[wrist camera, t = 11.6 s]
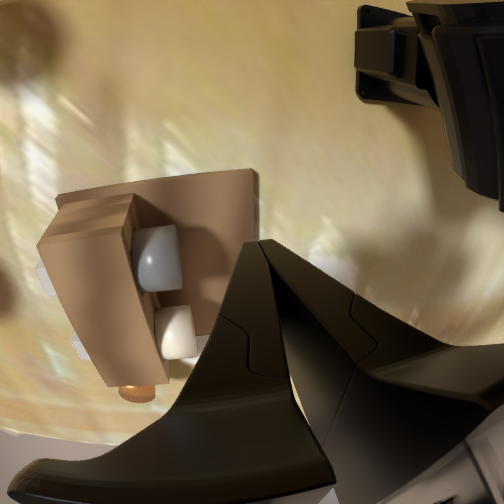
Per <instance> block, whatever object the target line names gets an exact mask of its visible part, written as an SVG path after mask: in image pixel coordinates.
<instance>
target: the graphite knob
mask: <svg viewBox="0 0 504 504" xmlns="http://www.w3.org/2000/svg"><path fill="white" fill-rule="evenodd" d="M130 255H131V259H132V264H133V271H134V275H135V280H136V283H137V286H138V288H139V290H140V292H141V293H149V292H158V291H167V290H176V289H182V288H183V273H182V261H181V253H180V245H179V239H178V233H177V229H176V226H175V225H167V226H159V227H151V228H143V229H136V230H134V231H133V234H132V242H131V249H130ZM34 270H35V272H36V274H37V276H38V278H39V281H40V283H41V285H42V287H43V289H44V291H45V293H46V296H47V297H49V296H57V294H56V292H55V289H54V287H53V285H52V283H51V281H50V278H49V276H48V274H47V271H46V269H45V267H44V264H43V262H42V259H41V258H40V259H39V261H38V263H37V265H36V267H35V269H34Z"/></svg>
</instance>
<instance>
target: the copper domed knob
mask: <svg viewBox="0 0 504 504" xmlns="http://www.w3.org/2000/svg"><path fill="white" fill-rule="evenodd" d="M119 394H120V396H121V397H122V398H124V399H125V400H128V401H130V402H135V403H146V402H150V401H152V400H153V399H154V398H155V385H142V386H122V387H119Z"/></svg>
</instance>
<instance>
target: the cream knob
mask: <svg viewBox="0 0 504 504" xmlns="http://www.w3.org/2000/svg"><path fill="white" fill-rule="evenodd" d="M154 335H155V338H156V341H157V346H158V350H159V353H160V356H161V358H162V360H171V359H181V358H191V357H197V347H196V337H195V329H194V323H193V317H192V311H191V307H190V305H182V306H173V307H164V308H156V310H155V321H154ZM71 343H72V345H73V346H74V348H75V350H76V351H77V353H78V355H79V356H80V358H81V360H91V359H90V357H89V355H88V354H87V352H86V350H85V348H84V347H83V345H82V343H81V341H80V339H79V337H78V336H77V334H76V332H75V330H74V331H73V335H72V339H71Z"/></svg>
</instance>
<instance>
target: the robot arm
mask: <svg viewBox="0 0 504 504" xmlns="http://www.w3.org/2000/svg"><path fill="white" fill-rule="evenodd" d="M406 5H407V7H408V9H409V12H412V14H413V16H409V15H406V14H402V13H398V12H395V11H391V10H387V9H383V8H379V7H374V6H370V5H362V6H359V8H358V10H357V31H356V32H355V60H354V67H355V68H356V89H355V91H356V94H357V96H358V97H360V98H363V99H371V100H381V101H390V102H399V103H407V104H414V105H421V106H426V107H429V108H432V109H435V110H437V111H440V112H441V115H442V120H443V124H444V129H445V134H446V139H447V144H448V149H449V155H450V160H451V163H452V166H453V169H454V170H455V171H456V172H457V173H458V175H459V176H460V177H461V178H462V179H463V180H464V181H465V185H466V187H467V188H468V189H470V190H472V191H474V192H475V193H477V194H479V195H481V196H484V197H487V198H490V199H492V200H497V201H499V210H500V211H501V212H504V0H413V1H408V2H406ZM364 9H366V10H367V12H368V14H367V15H365V13H364ZM363 88H365V90H366V91H365V93H364V94H362V89H363ZM289 372H290V374H289ZM290 375H291V378H292V380H293V383H294V386H295V388H296V391H297V393H298V396H299V399H300V401H301V404H302V407H303V409H304V412H305V415H306V417H307V420H308V422H309V424H308V422H307V420H306V419H305V417H304V415H303V413H302V411H301V410H300V408H299V406H298V404H297V402H296V400H295V397H294V394H293V390H292V385H291V381H290ZM309 425H310V426H309ZM332 488H334V490H335V493H336V495H337V498H338V501H339V503H340V504H504V343H503V344H491V345H478V346H454V345H449V344H446V343H443V342H441V341H439V340H437V339H435V338H433V337H431V336H429V335H427V334H425V333H424V332H422V331H420V330H418V329H416V328H414V327H412V326H411V325H409V324H407V323H405V322H403V321H401V320H399V319H398V318H396V317H394V316H392V315H391V314H389V313H387V312H385V311H384V310H382V309H380V308H379V307H377V306H375V305H374V304H372V303H371V302H369V301H367V300H366V299H364V298H363V297H361V296H360V295H358V294H355V292H354V291H352V290H351V289H349V288H348V287H346V286H344V285H343V284H341V283H340V282H338V281H337V280H335V279H334V278H332V277H331V276H329V275H328V274H326V273H325V272H323V271H322V270H320V269H318V268H317V267H315V266H314V265H312V264H311V263H309V262H308V261H306V260H305V259H303V258H301V257H300V256H298V255H297V254H295V253H294V252H292V251H291V250H289V249H287V248H286V247H284V246H283V245H281V244H280V243H278V242H276V241H275V240H273V239H266V240H260V241H258V242H257V241H250V242H244V243H242V246H241V249H240V251H239V254H238V257H237V260H236V263H235V266H234V269H233V272H232V274H231V277H230V280H229V283H228V286H227V289H226V292H225V295H224V298H223V301H222V303H221V306H220V309H219V312H218V316H217V317H216V320H215V323H214V326H213V329H212V331H211V334H210V336H209V339H208V341H207V343H206V345H205V347H204V350H203V352H202V354H201V356H200V358H199V359H198V361H197V363H196V365H195V367H194V368H193V370H192V372H191V374H190V376H189V378H188V379H187V381H186V383H185V385H184V387H183V389H182V390H181V392H180V394H179V396H178V397H177V399H176V401H175V402H174V404H173V405H172V407H171V408H170V409H169V410H168V412H167V413H166V414H165V415H164V416H162V417H161V418H160V419H158V420H157V421H155V422H154V423H152V424H151V425H149V426H148V427H146V428H145V429H143V430H142V431H140V432H139V433H137V434H136V435H134V436H133V437H131V438H130V439H128V440H127V441H125V442H123V443H122V444H120V445H119V446H117V447H116V448H114V449H113V450H111V451H109V452H107V453H105V454H103V455H101V456H98V457H95V458H92V459H87V460H81V461H67V460H59V459H48V458H43V459H37V460H34V461H32V462H31V463H29V464H28V465H27V466H26V467H24V468H23V469H22V470H21V471H19V472H18V473H17V474H16V476H15V477H14V478H13V480H12V481H11V482H10V485H9V487H8V490H7V494H8V496H9V497H10V498H12V499H13V500H15V501H17V502H18V503H20V504H318V503H319V502H320V501H321V500H322V499H323V498H324V497H325V496H326V495H327V493H328V492H329V491H330V490H331V489H332Z"/></svg>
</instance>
